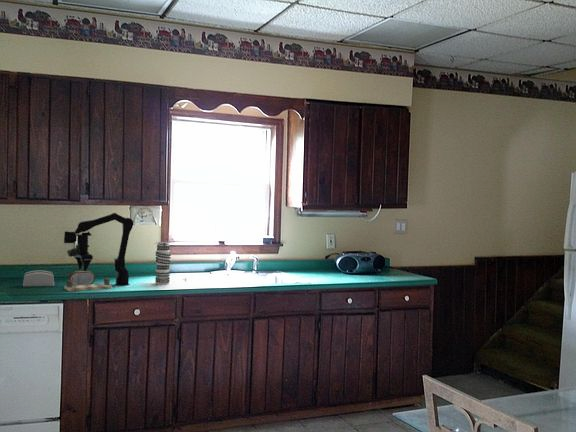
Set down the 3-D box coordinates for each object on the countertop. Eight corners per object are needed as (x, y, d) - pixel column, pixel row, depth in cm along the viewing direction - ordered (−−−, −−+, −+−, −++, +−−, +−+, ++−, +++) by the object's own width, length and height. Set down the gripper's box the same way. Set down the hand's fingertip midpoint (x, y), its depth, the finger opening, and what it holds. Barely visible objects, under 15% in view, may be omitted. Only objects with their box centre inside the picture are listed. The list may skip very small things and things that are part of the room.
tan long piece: (106, 286, 362) (107, 276, 362) (112, 288, 354) (112, 279, 354) (64, 288, 348) (64, 279, 348) (68, 291, 341) (68, 281, 340)
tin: (93, 284, 367) (94, 270, 366) (95, 285, 364) (95, 270, 364) (67, 286, 358) (68, 271, 357) (69, 286, 355) (69, 272, 355)
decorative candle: (153, 282, 380) (154, 241, 379) (168, 282, 384) (169, 241, 383) (155, 284, 372) (156, 243, 371) (171, 284, 375) (172, 243, 374)
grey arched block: (54, 284, 362) (54, 268, 358) (54, 288, 357) (54, 272, 354) (23, 284, 356) (23, 269, 352) (22, 289, 351) (22, 273, 348)
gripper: (63, 242, 363) (63, 268, 364) (73, 245, 348) (72, 273, 348) (83, 241, 369) (82, 267, 370) (93, 244, 354) (92, 272, 355)
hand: (82, 270), depth 361 cm, fingers open, 9 cm apart
